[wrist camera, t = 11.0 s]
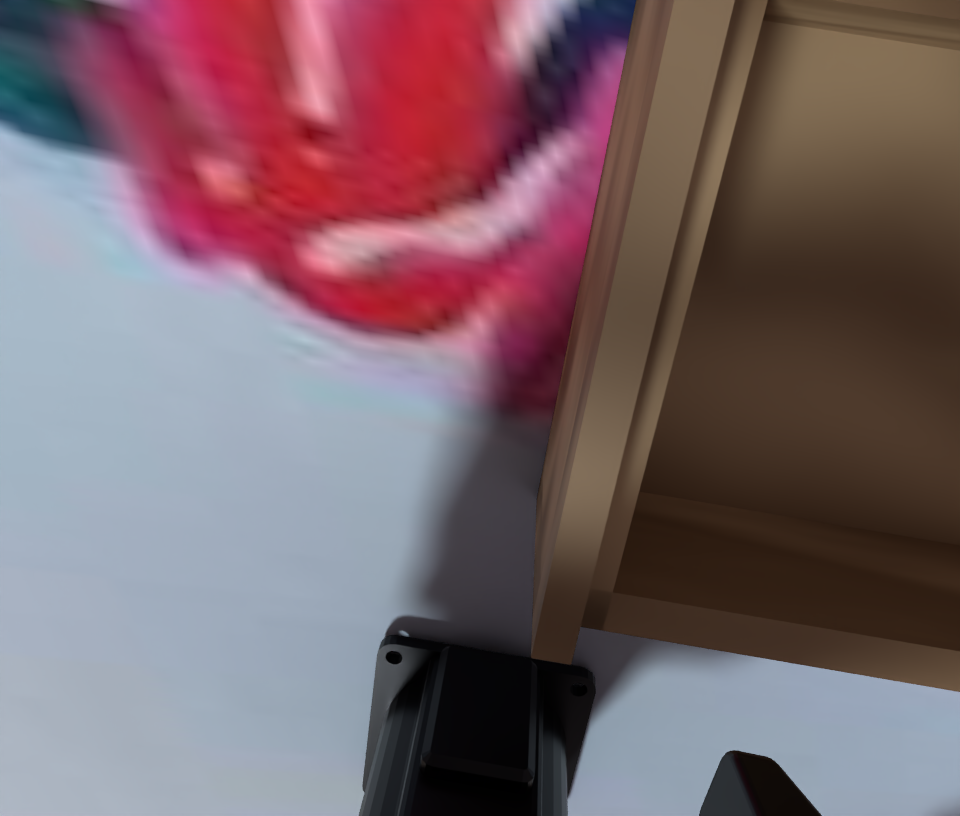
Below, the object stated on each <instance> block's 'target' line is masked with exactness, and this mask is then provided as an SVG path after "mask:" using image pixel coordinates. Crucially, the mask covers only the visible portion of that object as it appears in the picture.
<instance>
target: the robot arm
mask: <svg viewBox="0 0 960 816" xmlns="http://www.w3.org/2000/svg"><path fill="white" fill-rule="evenodd" d="M390 651H397V652H399V653H400V654H401V655H394V654H392V653H391V652H390ZM575 683H582V684H584V685H583V686H574V685H573V684H575ZM595 693H596V686H595V677H594V675H593V673H592V672H591V671H590V670H588V669H586V668H583V667H579V666H573V665H567V664H561V663H556V662H550V661H544V660H538V659H532V658H527V657H521V656H515V655H509V654H504V653H498V652H492V651H486V650H480V649H475V648H469V647H463V646H457V645H451V644H446V643H440V642H434V641H428V640H422V639H417V638H411V637H405V636H399V635H391V636H388V637H386V638H384V639H383V640H382V642H381V644H380V647H379V651H378V654H377V661H376V670H375V679H374V688H373V697H372V706H371V715H370V724H369V733H368V742H367V750H366V759H365V768H364V777H363V791H364V792H365V793H364V797H363V801H362V805H361V809H360V812H359V816H568V806H567V797H568V794H569V790H570V786H571V782H572V779H573V775H574V771H575V767H576V764H577V760H578V756H579V753H580V749H581V745H582V741H583V738H584V734H585V730H586V726H587V723H588V719H589V715H590V712H591V708H592V704H593V700H594V697H595ZM699 816H822V815H821V814H820V813H819V812H818V811H817V809H816V808H815V807H814V806H813V805H812V804H811V802H810V801H809V800H808V799H807V798H806V796H805V795H804V794H803V793H802V792H801V791H800V789H799V788H798V787H797V786H796V785H795V783H794V782H793V781H792V780H791V779H790V778H789V776H788V775H787V774H786V773H785V772H784V771H783V769H782V768H781V767H780V766H779V765H778V764H777V763H776V762H775V761H774V760H772V759H770V758H768V757H765V756H760V755H755V754H751V753H746V752H741V751H735V750H734V751H729V752H727V753H726V754H725V755H724V756H723V758H722V759H721V761H720V763H719V766H718V768H717V771H716V773H715V776H714V778H713V780H712V783H711V785H710V788H709V790H708V793H707V795H706V798H705V800H704V802H703V805H702V807H701V810H700V814H699Z"/></svg>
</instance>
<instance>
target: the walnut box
mask: <svg viewBox="0 0 960 816" xmlns="http://www.w3.org/2000/svg"><path fill="white" fill-rule="evenodd" d="M580 627H585V628H591V629H596V630H602V631H608V632H614V633H620V634H626V635H631V636H637V637H643V638H649V639H655V640H660V641H666V642H672V643H678V644H684V645H690V646H695V647H701V648H707V649H713V650H719V651H725V652H730V653H736V654H742V655H748V656H754V657H760V658H765V659H771V660H777V661H783V662H789V663H795V664H800V665H806V666H812V667H818V668H824V669H830V670H835V671H841V672H847V673H853V674H859V675H865V676H870V677H876V678H882V679H888V680H894V681H900V682H905V683H911V684H917V685H923V686H929V687H934V688H940V689H946V690H952V691H958V692H960V0H636V5H635V10H634V15H633V20H632V25H631V30H630V35H629V40H628V45H627V50H626V55H625V60H624V65H623V70H622V75H621V80H620V85H619V90H618V95H617V100H616V105H615V110H614V115H613V120H612V125H611V130H610V135H609V140H608V145H607V150H606V155H605V160H604V165H603V170H602V175H601V180H600V185H599V190H598V195H597V200H596V205H595V210H594V215H593V220H592V225H591V230H590V235H589V240H588V245H587V250H586V255H585V260H584V265H583V270H582V275H581V280H580V285H579V290H578V295H577V300H576V305H575V310H574V315H573V320H572V325H571V330H570V335H569V340H568V345H567V350H566V355H565V360H564V365H563V370H562V375H561V380H560V385H559V390H558V395H557V400H556V405H555V410H554V415H553V420H552V425H551V430H550V435H549V440H548V445H547V450H546V455H545V460H544V465H543V470H542V475H541V480H540V485H539V490H538V495H537V505H536V533H535V560H534V588H533V615H532V642H531V658H534V659H540V660H545V661H551V662H557V663H563V664H569V665H571V663H572V659H573V655H574V651H575V647H576V643H577V639H578V635H579V631H580Z"/></svg>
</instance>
